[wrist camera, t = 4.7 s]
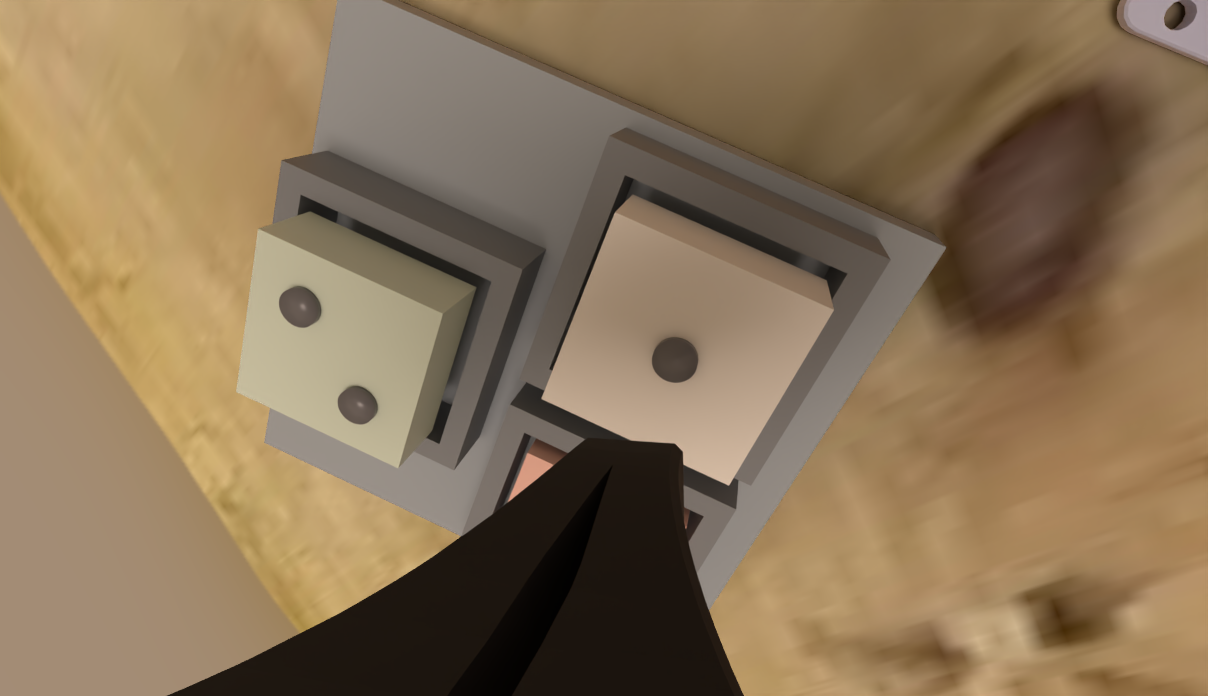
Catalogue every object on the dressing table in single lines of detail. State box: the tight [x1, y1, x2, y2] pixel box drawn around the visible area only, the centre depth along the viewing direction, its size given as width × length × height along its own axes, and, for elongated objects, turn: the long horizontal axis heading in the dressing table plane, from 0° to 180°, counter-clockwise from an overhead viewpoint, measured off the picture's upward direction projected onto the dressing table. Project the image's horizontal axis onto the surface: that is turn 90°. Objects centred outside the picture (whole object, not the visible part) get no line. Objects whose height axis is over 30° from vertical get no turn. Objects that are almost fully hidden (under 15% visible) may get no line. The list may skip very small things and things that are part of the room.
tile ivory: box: [541, 195, 834, 486], centre depth 14 cm, size 4×4×2 cm
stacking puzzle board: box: [264, 0, 947, 610], centre depth 18 cm, size 15×14×3 cm
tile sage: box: [236, 212, 477, 468], centre depth 16 cm, size 4×4×2 cm
